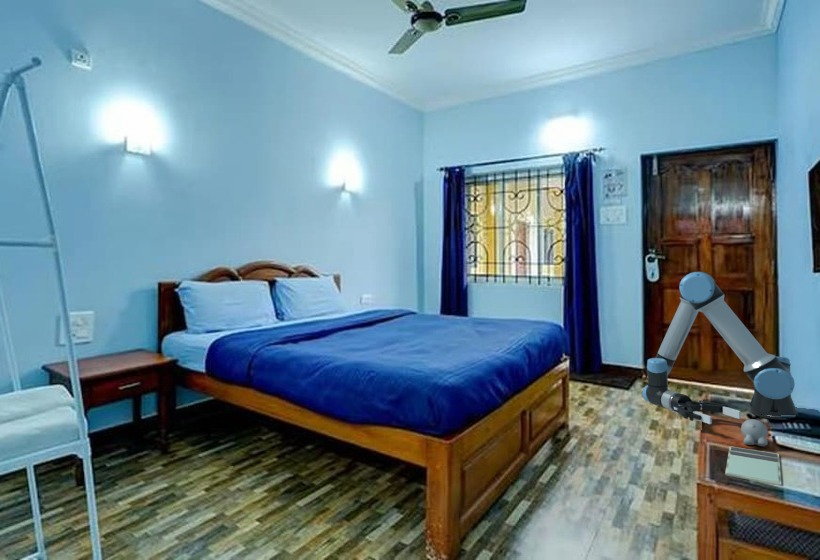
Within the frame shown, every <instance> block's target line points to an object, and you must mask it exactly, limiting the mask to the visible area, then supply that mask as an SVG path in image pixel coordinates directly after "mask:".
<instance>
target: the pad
mask: <svg viewBox="0 0 820 560" xmlns="http://www.w3.org/2000/svg"><path fill="white" fill-rule="evenodd" d="M727 473H728V474H733V475H739V476H744V477H750V478H755V479H761V480H766V481H772V482H777V483H779V477H778V463H777V462H771V461H765V460H759V459H752V458H746V457H740V456H734V455H730V458H729V465H728V471H727Z"/></svg>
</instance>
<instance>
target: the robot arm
mask: <svg viewBox="0 0 820 560" xmlns="http://www.w3.org/2000/svg"><path fill="white" fill-rule="evenodd" d="M678 287H679V293H680V296H679V299H680V302H679V305H678V307H677V309H676V312H675V314H674V316H673V317H672V320H671V323H670V325H669V327H668V329H667V331H666V333H665V336H664V338H663V340H662V342H661V344H660V347H659V349H658V351H657V353H656V355H655V357H651V358H649V359H647V360H646V361H647V363H646V372H647V385H645V386H644V387H643V390H642V393H641V396H642V398H643V399H644V401H645V402H647V403H650V404H652V405H654V406H658V407H661V408H664V409H667V410H670V412H675V413H678V414H679V415H680V416H681V417H682V418H683V419H685V420H688V419H689V421H692V422H693V421H694V420H697V421H699V422H703V423H705V424H708V425H712V416H710V415H708V414H706V413H704V412H712V413H721V414H723V415H725V416H728V417H732V418H735V419H738V420H741V419H742V414H741V413H742V412H741V410H737V409H734V408H732V407H728V404H725V403H717V402H711V401H705V400H698V401H696V400H692V399H691V397H690V396H689V395H687V394H683V393H681V392H677V391H673V390H669V385H668V384H669V382H668V381H669V377H668V376H669V375H670V373H671V371H672V370H673V366H674V365H675V362H676V361H677V358H678V356H679V354H680V351H681V349H682V347H683V345H684V343H685V341H686V338H687V337H688V335H689V332H690V331H691V328H692V325H693V324H694V322H695V320H696V318H697V315H698V314H699V312H700V313H703V315H704V316H705V317H706V318H707V320H708V321H709V322H710V324H711V325H712V326H713V327H714V328H715V330H716V332H717V333H719V334H720V336H721V337H722V339H723V340H724V341H725V342H726V344H727V345H728V346H729V347H730V348H731V350H732V351H733V352H734V354H735V355H736V356H737V357H738V359H739V360H740V361H741V362H742V363H743V365H744V366H743V372H744V373H745V374H746V376H747V377H748V378H749V379H750V381H751V382H752V383H753V395H752V398H751V401H750V404H749V406H748V407H749V412H750V414H752V415H754V416H757V417H761V418H764V419H771V420H779V421H780V420H782V421H784V420H785V421H787V420H788V419H786V418H781V417H770V416H764V415H772V416H781V415H795V414H797V415H798V410H797V408H796V405H795V403H794V401H793V398H792V394H793V391H794V388H795V384H796V383H795V380H794V379H795V378H794V377H793V376H792V373H791V362H790V361H791V360H790V359H789V358H788V357H784V356H776V355H775V354H770V353H768V352H767V351H766V349H764V348H763V346H762V345H761V344H760V343H759V341H758V340H757V339H756V338H755V337H754V335H753V334H752V333H751V332H750V331H749V329H748V328H747V327H746V326H745V324H744V323H743V322H742V321H741V320H740V318H739V317H738V315H737V314H736V313H735V312H734V311H733V309H731V307H730V306H729V305H728V304H727V302H726V301H725V294H724V292H723V291H722V290H721V288H720V287H719V286H718V285H717V283H716V282H715V279H714V277H713V276H712V275H711V274H709V273H707V272H705V271H699V270H698V271H693V272H690V273H688V274H686V275H684V276H683V278H681V281H680V282H679V286H678ZM761 414H762V415H761Z"/></svg>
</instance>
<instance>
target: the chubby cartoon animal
mask: <svg viewBox="0 0 820 560" xmlns="http://www.w3.org/2000/svg"><path fill="white" fill-rule="evenodd" d="M740 431H741V434H742V435H743V437H744V438H743V444H744V445H747V446H753V445H756V446H757V447H766V446H768V440H767V436H768V433H769V432H768V428H767V427H766V425H765V424H764V423H763V422H762V421H760V420H758V419H753V418H749V419H746V420H745V421H744V422H742V424H741V427H740Z"/></svg>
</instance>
